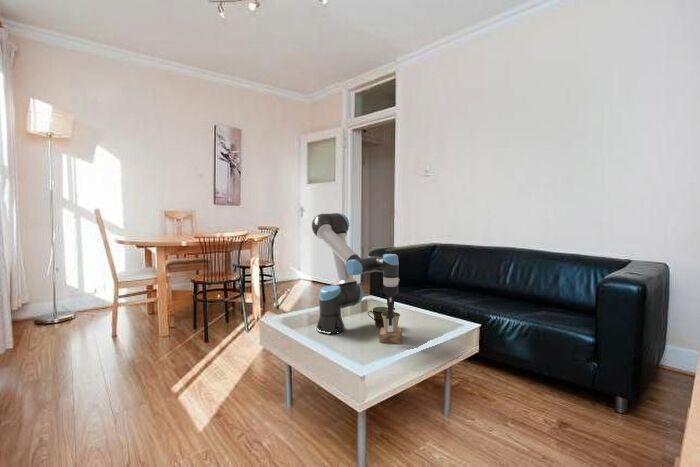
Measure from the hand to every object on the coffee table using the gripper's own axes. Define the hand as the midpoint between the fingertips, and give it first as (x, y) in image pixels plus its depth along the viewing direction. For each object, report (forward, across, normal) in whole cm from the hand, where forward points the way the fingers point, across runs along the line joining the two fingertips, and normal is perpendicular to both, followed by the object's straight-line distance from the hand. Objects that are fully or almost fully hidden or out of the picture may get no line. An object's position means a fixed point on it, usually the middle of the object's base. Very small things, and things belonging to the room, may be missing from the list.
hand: (390, 327), depth 180 cm
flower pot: (+2, 0, 0) cm, 2 cm away
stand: (+6, 0, 0) cm, 6 cm away
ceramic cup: (+6, +18, +7) cm, 20 cm away
